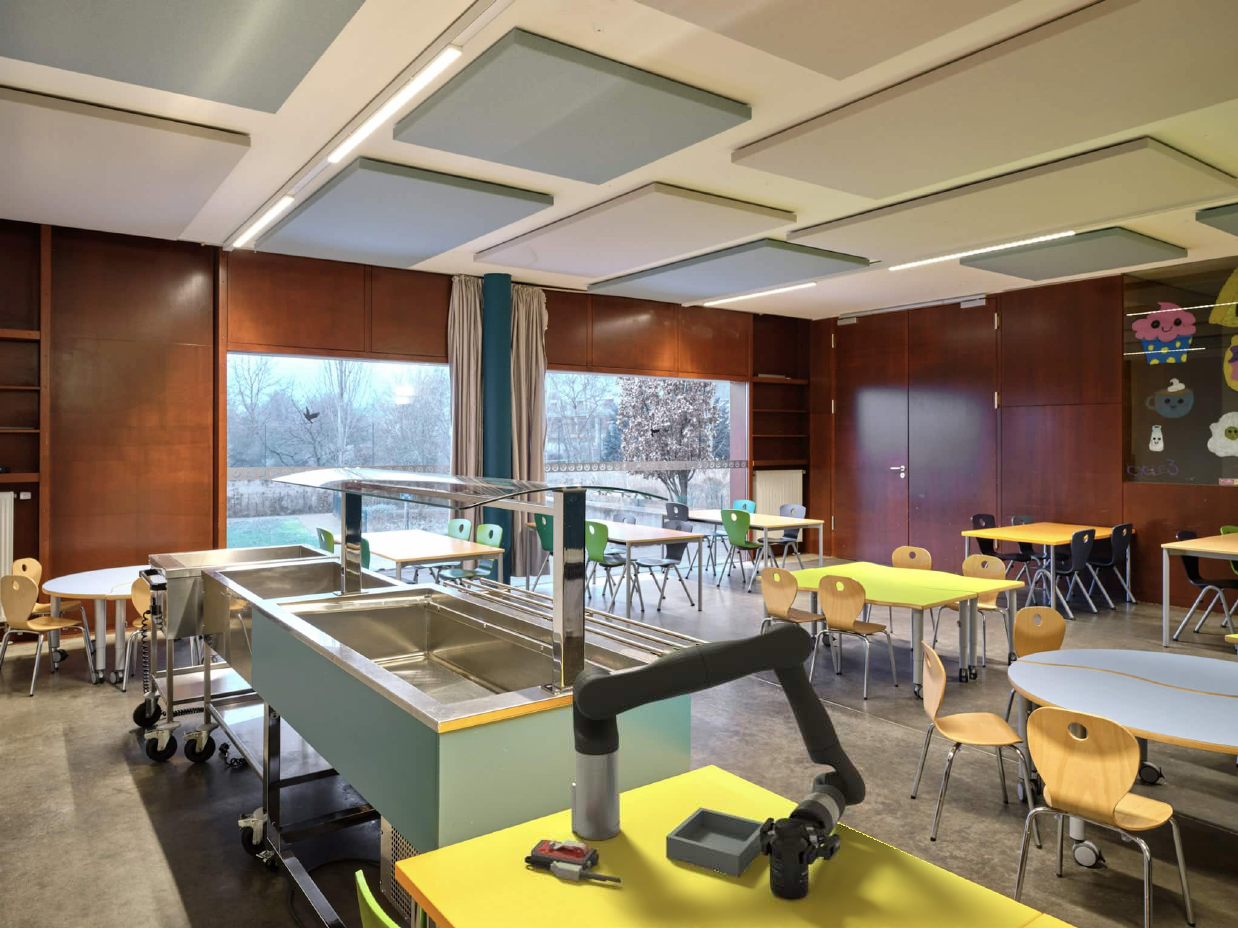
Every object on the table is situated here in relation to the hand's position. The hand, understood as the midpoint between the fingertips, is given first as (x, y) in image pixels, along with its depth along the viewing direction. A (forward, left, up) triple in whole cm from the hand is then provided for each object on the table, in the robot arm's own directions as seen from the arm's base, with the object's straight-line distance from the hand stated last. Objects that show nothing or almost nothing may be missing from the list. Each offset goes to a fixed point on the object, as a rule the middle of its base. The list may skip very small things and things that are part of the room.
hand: (784, 855), depth 139 cm
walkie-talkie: (-37, -11, -8) cm, 39 cm away
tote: (-17, +9, -7) cm, 21 cm away
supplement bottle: (0, +2, -7) cm, 8 cm away
